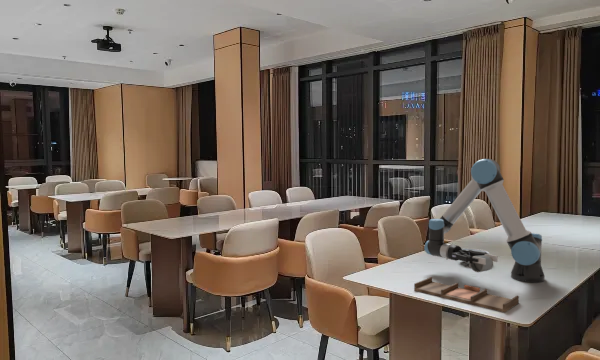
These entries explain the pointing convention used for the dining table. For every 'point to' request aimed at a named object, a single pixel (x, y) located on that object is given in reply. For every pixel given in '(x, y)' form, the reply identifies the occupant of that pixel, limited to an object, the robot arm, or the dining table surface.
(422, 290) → the rack
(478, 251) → the cereal bowl
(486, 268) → the ceramic mug
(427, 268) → the dining table surface
